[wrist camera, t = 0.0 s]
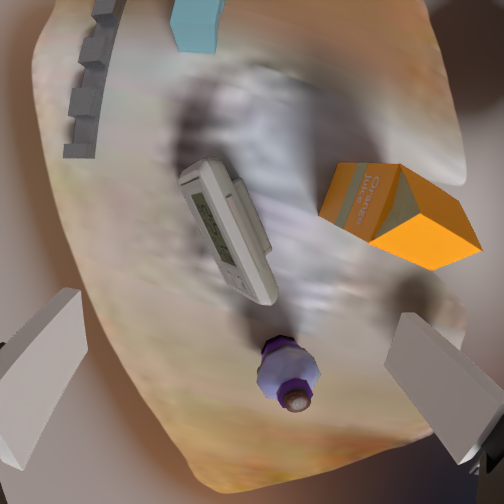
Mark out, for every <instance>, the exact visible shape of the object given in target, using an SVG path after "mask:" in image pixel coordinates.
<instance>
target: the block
mask: <svg viewBox="0 0 504 504" xmlns="http://www.w3.org/2000/svg"><path fill="white" fill-rule="evenodd" d="M224 4H225V0H175V4H174V7H173V11H172V15H171V19H170V25H171V28H172V31H173V34H174V37H175V40H176V43H177V46H178V49H179V52H192V53H207V54H215V51H216V46H217V30H218V25H219V20H220V15H221V10H222V11H223V9H224Z"/></svg>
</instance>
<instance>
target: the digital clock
mask: <svg viewBox="0 0 504 504" xmlns="http://www.w3.org/2000/svg"><path fill="white" fill-rule="evenodd" d="M178 183H179V186H180V188H181V190H182V192H183V195H184V197H185V199H186V201H187V203H188V205H189V207H190V210H191V212H192V214H193V216H194V218H195V220H196V222H197V224H198V226H199V229H200V231H201V233H202V235H203V237H204V239H205V241H206V243H207V245H208V247H209V249H210V251H211V253H212V255H213V257H214V259H215V261H216V264H217V266H218V268H219V270H220V272H221V274H222V276H223V277H224V279H225V281H226V283H227V284H228V285H229V286H230V287H231V288H232V289H234V290H236V291H237V292H239V293H241V294H242V295H244V296H246V297H247V298H249V299H251V300H252V301H254V302H256V303H257V304H261V305H269V306H271V305H273V304H274V303H275V301H276V300H277V298H278V295H279V288H278V286H277V283H276V281H275V278H274V276H273V274H272V271H271V269H270V267H269V265H268V262H267V260H266V258H265V255H267V254H268V253H269V252H271V251H272V246H271V244H270V242H269V239H268V237H267V235H266V232H265V230H264V228H263V226H262V223H261V221H260V219H259V216H258V214H257V212H256V209H255V207H254V205H253V202H252V200H251V198H250V196H249V193H248V191H247V189H246V186H245V184H244V182H243V179H241V178H237V179H235V180H233V181H231V179H230V176H229V174H228V172H227V170H226V168H225V166H224V164H223V162H222V161H221V160H219V159H217V158H214V157H206V158H203V159H201V160H199V161H197V162H196V163H194V164H193V165H191V166H189V167H188V168H186V169H185V170H183V171H182V173H181V175H180V177H179V179H178Z"/></svg>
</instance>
